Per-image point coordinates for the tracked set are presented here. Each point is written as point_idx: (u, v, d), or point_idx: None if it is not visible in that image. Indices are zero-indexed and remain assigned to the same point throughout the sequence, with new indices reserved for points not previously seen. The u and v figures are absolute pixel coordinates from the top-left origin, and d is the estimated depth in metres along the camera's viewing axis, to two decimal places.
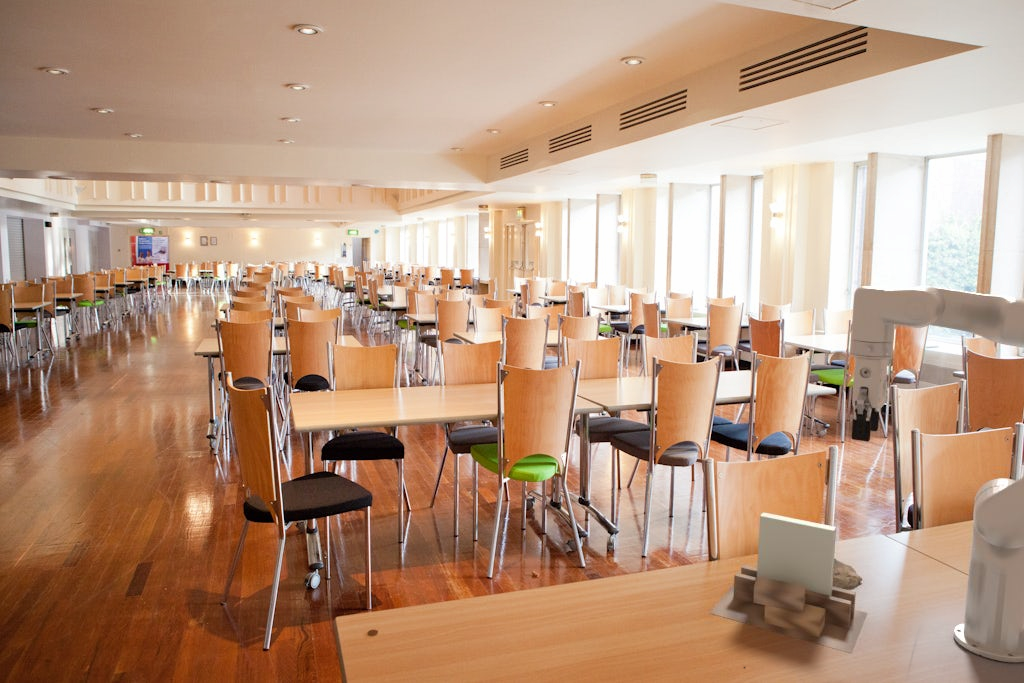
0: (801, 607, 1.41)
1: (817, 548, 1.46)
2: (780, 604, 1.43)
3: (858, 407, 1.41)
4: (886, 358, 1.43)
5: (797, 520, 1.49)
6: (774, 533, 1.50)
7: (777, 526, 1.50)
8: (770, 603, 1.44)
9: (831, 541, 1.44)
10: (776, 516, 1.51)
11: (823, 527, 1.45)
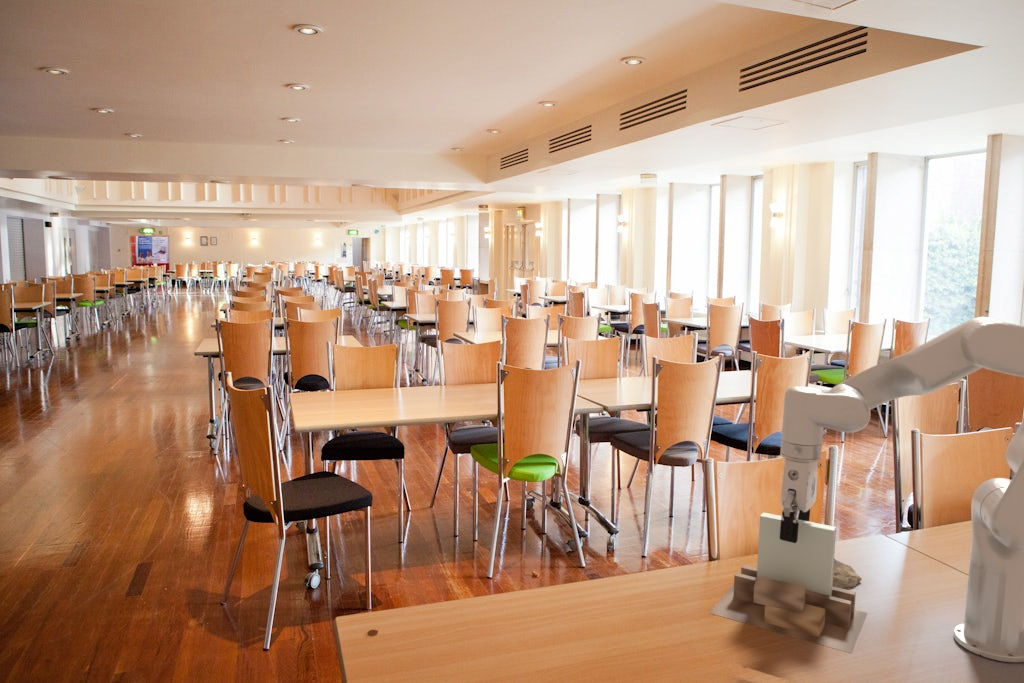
0: (801, 607, 1.41)
1: (817, 548, 1.46)
2: (780, 604, 1.43)
3: (785, 510, 1.42)
4: (814, 461, 1.44)
5: (797, 520, 1.49)
6: (774, 533, 1.50)
7: (777, 526, 1.50)
8: (770, 603, 1.44)
9: (831, 541, 1.44)
10: (776, 516, 1.51)
11: (823, 527, 1.45)
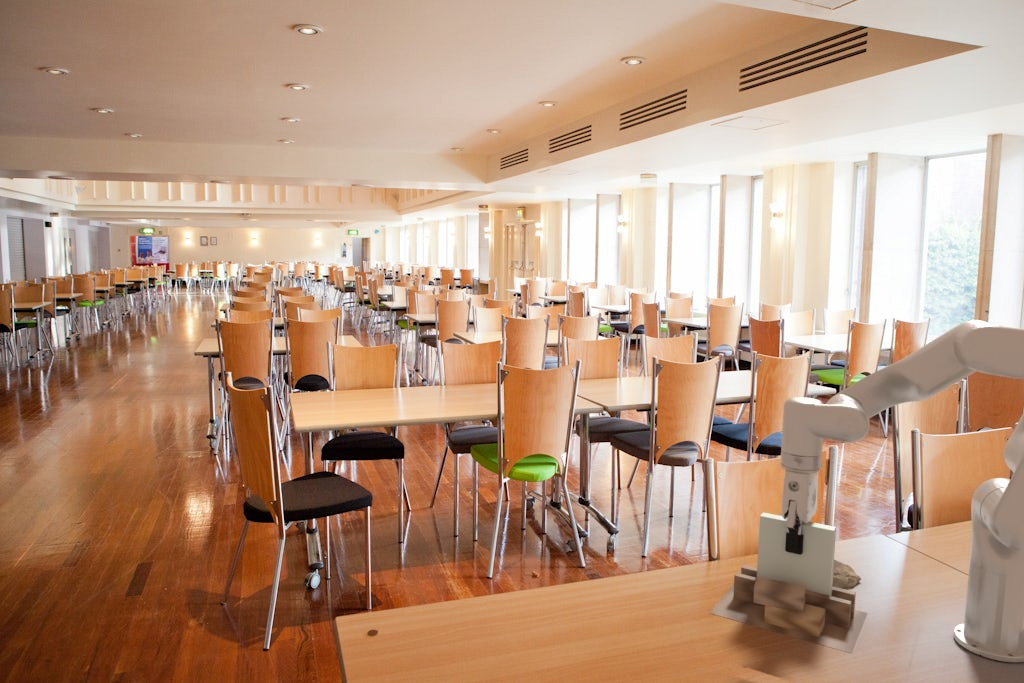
0: (801, 607, 1.41)
1: (817, 549, 1.46)
2: (780, 604, 1.43)
3: (789, 528, 1.45)
4: (814, 471, 1.44)
5: None
6: (774, 533, 1.50)
7: (777, 526, 1.50)
8: (770, 603, 1.44)
9: (831, 541, 1.44)
10: (776, 516, 1.51)
11: (823, 527, 1.45)
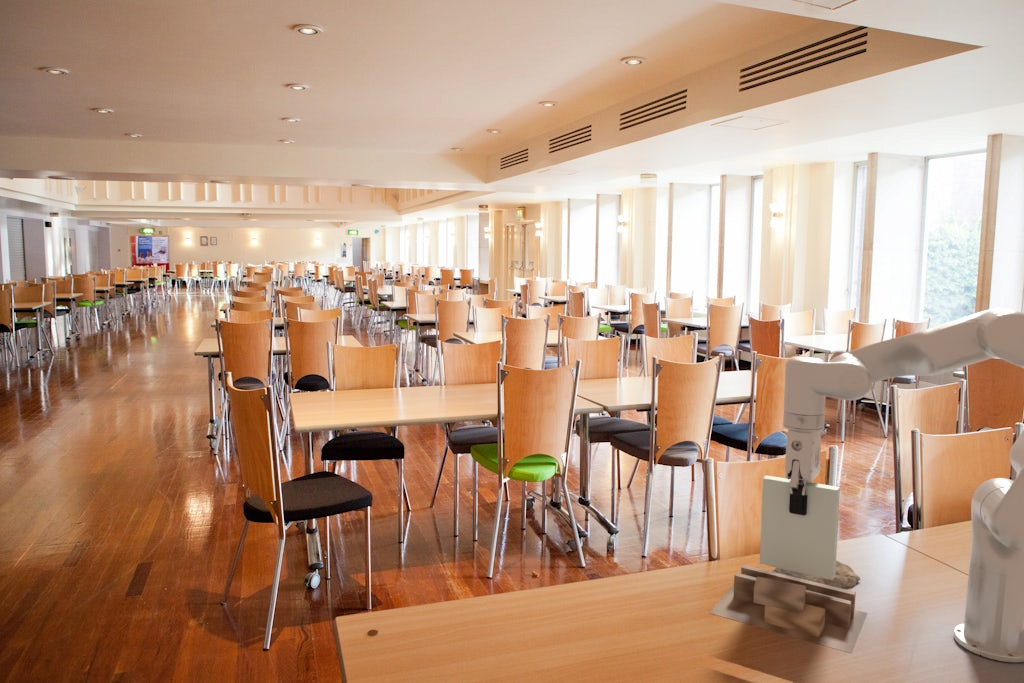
0: (801, 607, 1.41)
1: (821, 509, 1.45)
2: (780, 604, 1.43)
3: (793, 488, 1.44)
4: (817, 430, 1.43)
5: None
6: (778, 495, 1.49)
7: (780, 488, 1.49)
8: (770, 603, 1.44)
9: (835, 501, 1.43)
10: (779, 478, 1.50)
11: (826, 488, 1.44)
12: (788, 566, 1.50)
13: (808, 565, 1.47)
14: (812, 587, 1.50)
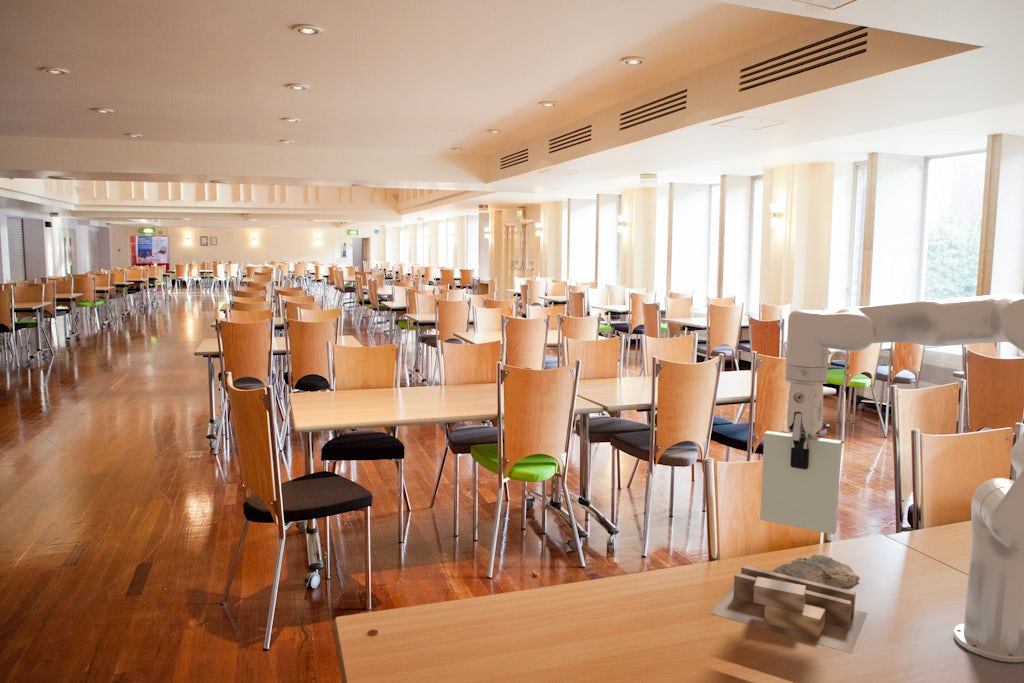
0: (801, 607, 1.41)
1: (822, 463, 1.44)
2: (780, 604, 1.43)
3: (794, 441, 1.42)
4: (820, 383, 1.42)
5: (802, 436, 1.47)
6: (779, 450, 1.48)
7: (781, 443, 1.48)
8: (770, 603, 1.44)
9: (837, 454, 1.42)
10: (780, 433, 1.49)
11: (828, 441, 1.43)
12: (789, 521, 1.48)
13: (809, 520, 1.46)
14: (812, 587, 1.50)
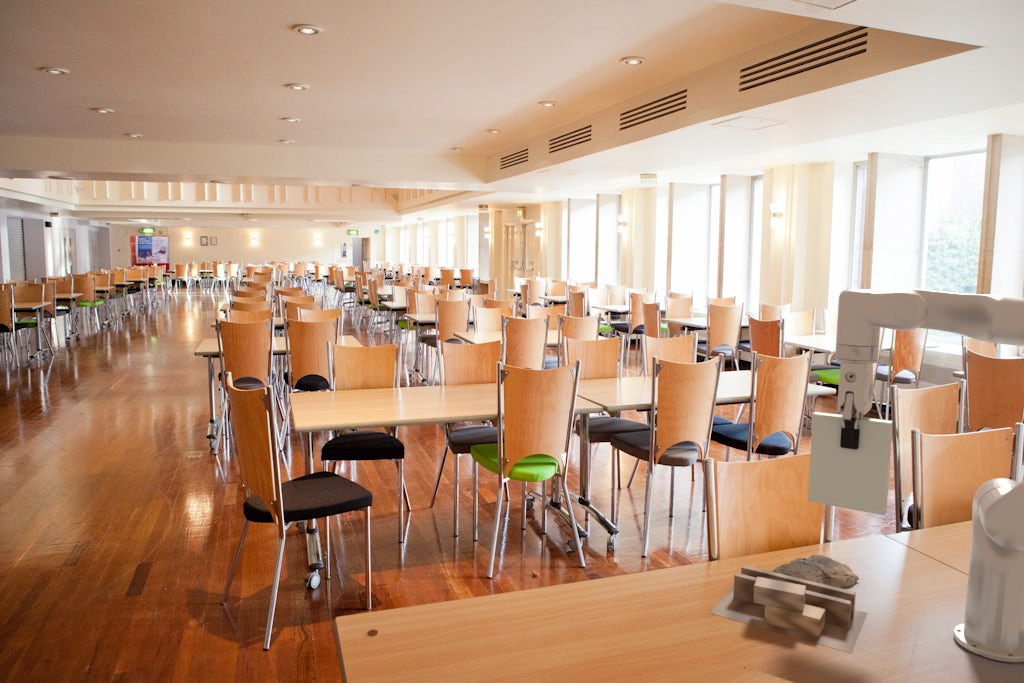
0: (801, 607, 1.41)
1: (873, 443, 1.43)
2: (780, 604, 1.43)
3: (846, 420, 1.42)
4: (871, 362, 1.41)
5: None
6: (828, 430, 1.47)
7: (831, 423, 1.47)
8: (770, 603, 1.44)
9: (888, 434, 1.41)
10: (829, 414, 1.48)
11: (879, 421, 1.42)
12: (838, 502, 1.48)
13: (858, 501, 1.46)
14: (812, 587, 1.50)
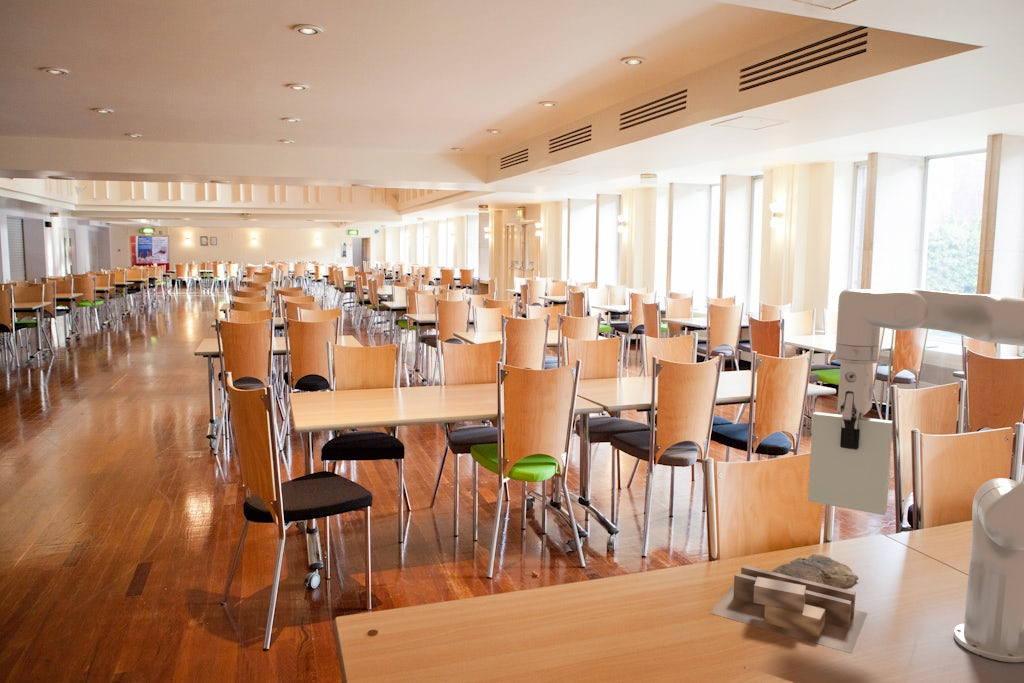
0: (801, 607, 1.41)
1: (873, 443, 1.43)
2: (780, 604, 1.43)
3: (846, 420, 1.42)
4: (871, 362, 1.41)
5: None
6: (828, 430, 1.47)
7: (831, 423, 1.47)
8: (770, 603, 1.44)
9: (888, 434, 1.41)
10: (829, 414, 1.48)
11: (879, 421, 1.42)
12: (838, 502, 1.48)
13: (858, 501, 1.46)
14: (812, 587, 1.50)
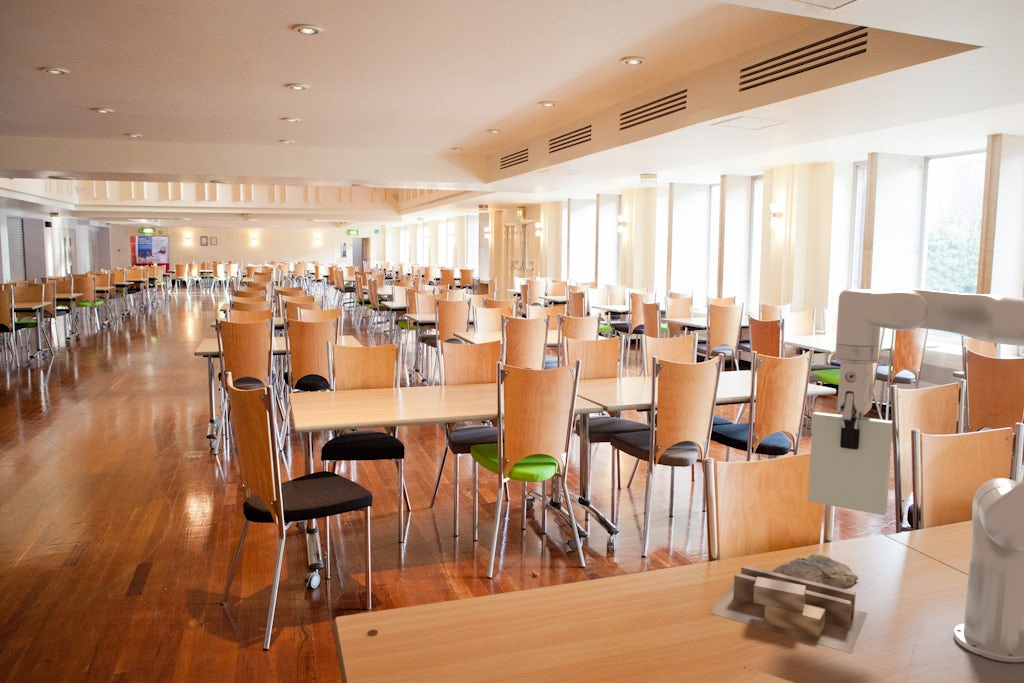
0: (801, 607, 1.41)
1: (873, 443, 1.43)
2: (780, 604, 1.43)
3: (846, 420, 1.42)
4: (871, 362, 1.41)
5: None
6: (828, 430, 1.47)
7: (831, 423, 1.47)
8: (770, 603, 1.44)
9: (888, 434, 1.41)
10: (829, 414, 1.48)
11: (879, 421, 1.42)
12: (838, 503, 1.48)
13: (859, 501, 1.46)
14: (812, 587, 1.50)
